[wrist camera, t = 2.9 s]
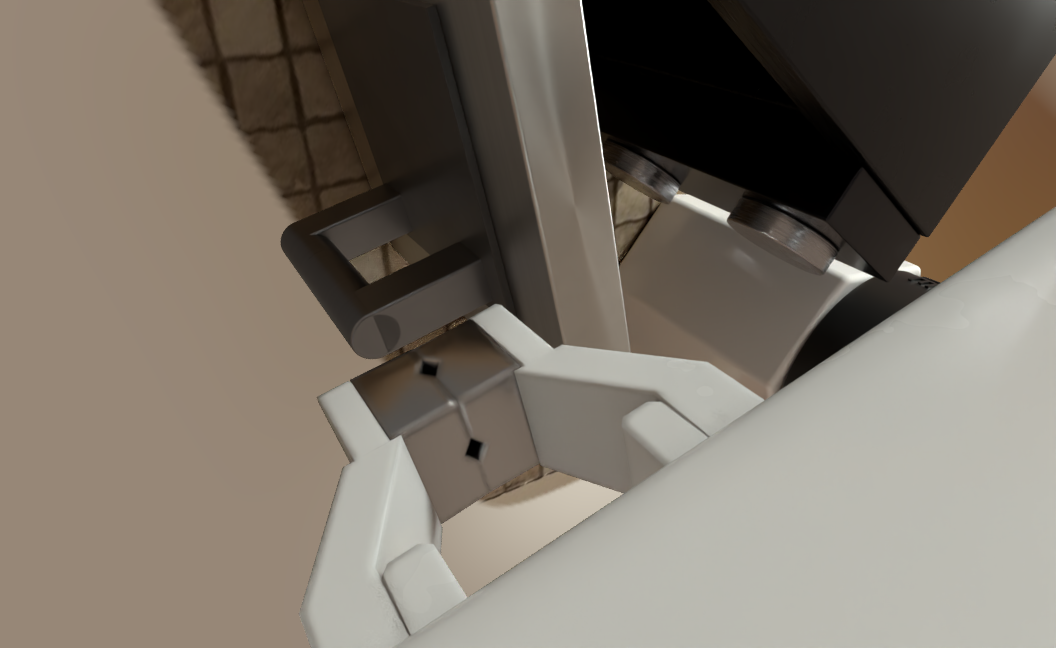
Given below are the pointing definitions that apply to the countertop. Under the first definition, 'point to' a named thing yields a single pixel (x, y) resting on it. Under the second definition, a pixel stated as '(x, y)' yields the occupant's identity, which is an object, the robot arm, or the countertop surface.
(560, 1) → the oven door
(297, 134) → the countertop surface
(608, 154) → the oven
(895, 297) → the jar
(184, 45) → the countertop surface
